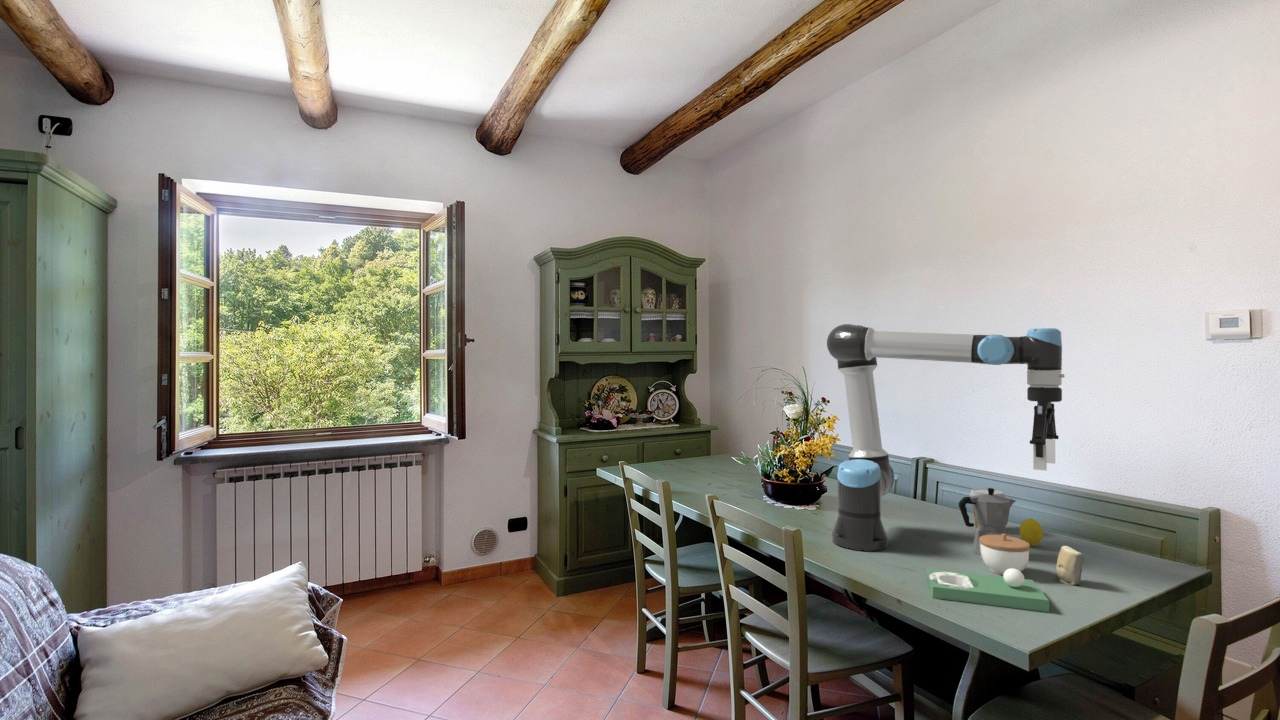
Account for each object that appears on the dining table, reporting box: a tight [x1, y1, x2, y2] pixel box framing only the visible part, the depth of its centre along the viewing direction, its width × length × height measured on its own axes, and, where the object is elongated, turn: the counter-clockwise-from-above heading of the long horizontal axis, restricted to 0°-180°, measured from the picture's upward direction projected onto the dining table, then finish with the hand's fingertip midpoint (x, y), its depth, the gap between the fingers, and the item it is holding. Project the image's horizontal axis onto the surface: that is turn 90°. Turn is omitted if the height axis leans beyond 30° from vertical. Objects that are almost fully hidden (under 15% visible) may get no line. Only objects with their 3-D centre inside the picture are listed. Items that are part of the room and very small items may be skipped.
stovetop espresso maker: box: [969, 487, 1006, 529], centre depth 181 cm, size 10×10×12 cm
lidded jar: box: [979, 534, 1031, 576], centre depth 144 cm, size 11×11×9 cm
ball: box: [1002, 568, 1026, 587], centre depth 128 cm, size 4×4×4 cm
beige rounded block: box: [1055, 545, 1085, 587], centre depth 137 cm, size 6×5×8 cm
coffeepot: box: [958, 487, 1016, 556], centre depth 158 cm, size 15×9×18 cm, turn 90°
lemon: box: [1019, 517, 1044, 547], centre depth 164 cm, size 6×6×8 cm
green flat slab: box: [925, 568, 1050, 613], centre depth 130 cm, size 22×12×2 cm, turn 70°
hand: (1044, 466), depth 153 cm, fingers open, 13 cm apart
